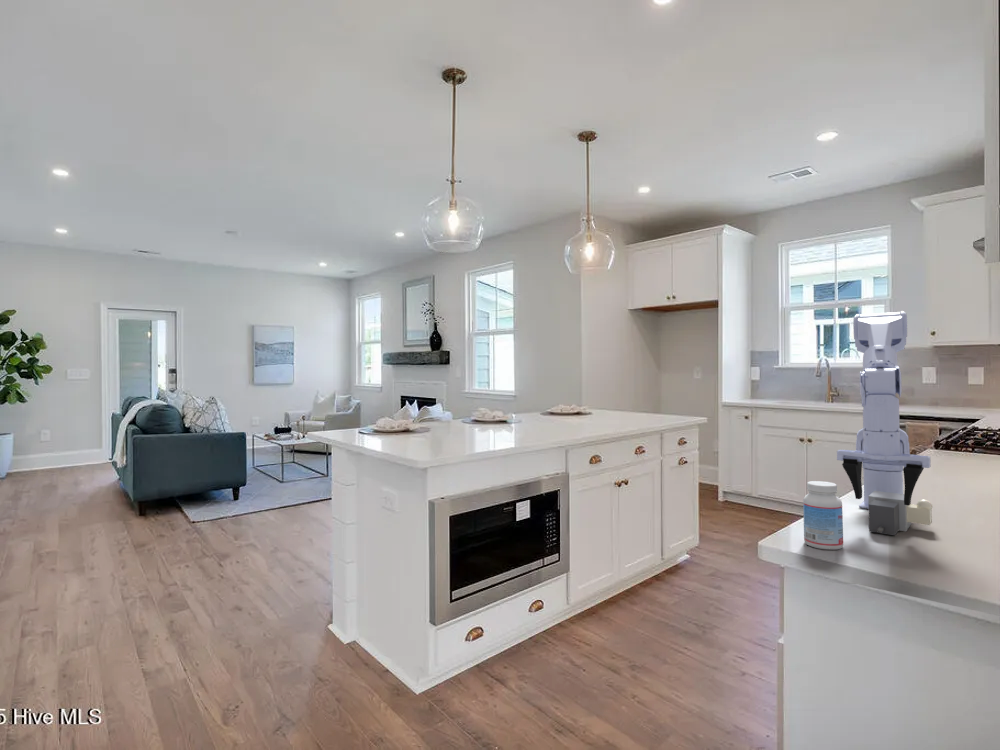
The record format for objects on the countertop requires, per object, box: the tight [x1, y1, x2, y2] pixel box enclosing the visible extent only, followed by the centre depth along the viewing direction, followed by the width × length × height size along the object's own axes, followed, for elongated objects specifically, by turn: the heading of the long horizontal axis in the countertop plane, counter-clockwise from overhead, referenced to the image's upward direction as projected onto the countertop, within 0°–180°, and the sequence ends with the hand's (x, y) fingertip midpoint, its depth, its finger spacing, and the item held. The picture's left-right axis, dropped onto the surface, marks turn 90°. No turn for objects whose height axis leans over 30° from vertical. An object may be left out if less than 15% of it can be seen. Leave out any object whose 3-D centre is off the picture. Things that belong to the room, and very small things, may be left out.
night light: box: [907, 499, 933, 526], centre depth 104 cm, size 3×4×4 cm
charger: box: [868, 500, 900, 536], centre depth 103 cm, size 9×4×5 cm, turn 135°
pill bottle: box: [802, 480, 844, 551], centre depth 96 cm, size 6×6×11 cm
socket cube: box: [868, 491, 912, 532], centre depth 107 cm, size 6×6×6 cm
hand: (882, 501), depth 102 cm, fingers open, 7 cm apart
